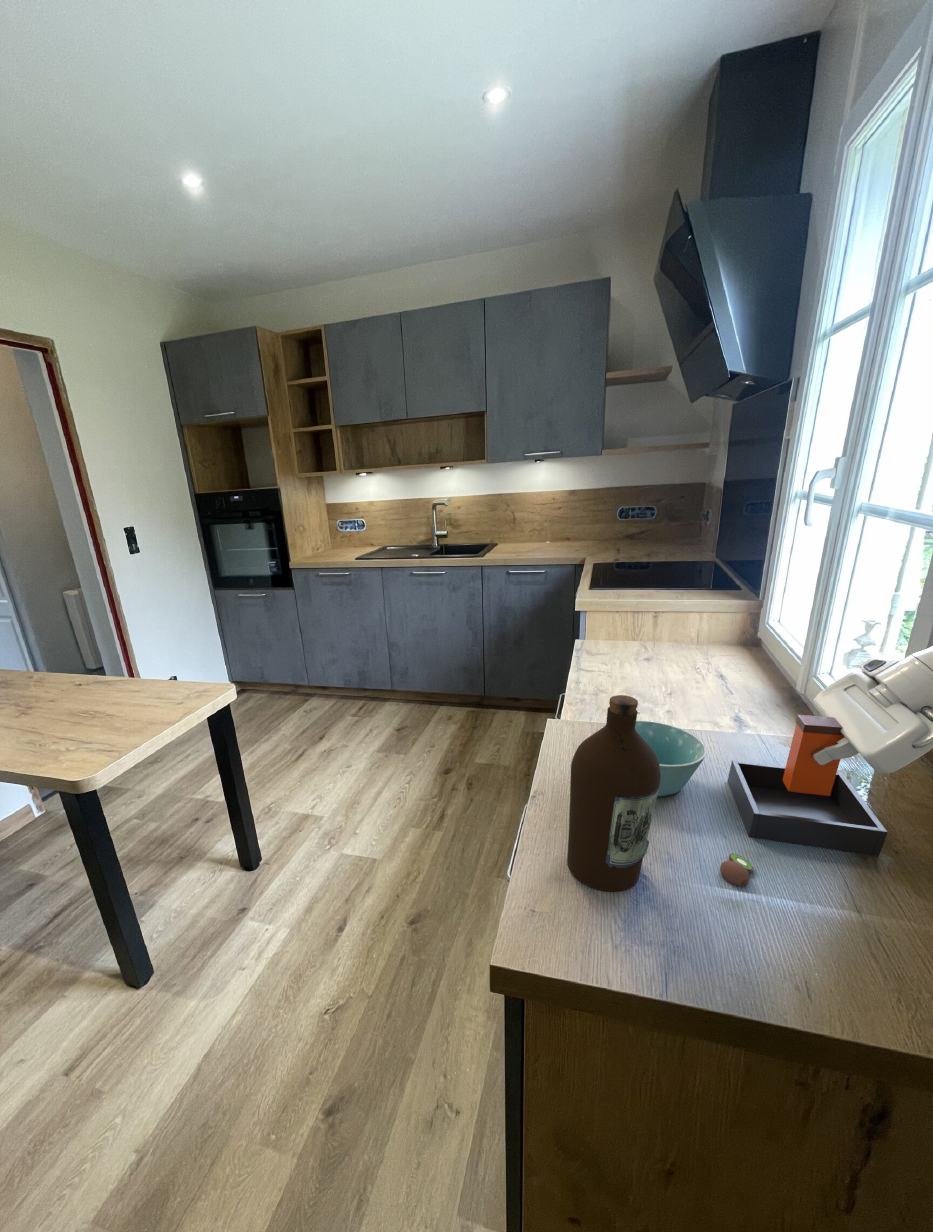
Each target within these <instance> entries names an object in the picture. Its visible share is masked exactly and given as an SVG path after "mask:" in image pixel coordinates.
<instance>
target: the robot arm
mask: <svg viewBox="0 0 933 1232" xmlns="http://www.w3.org/2000/svg"><path fill="white" fill-rule="evenodd" d="M859 668H860V670H856V671H855V670H854V671H853V672H850V673H848V674H846V675H844V676H843V677H841V678H839V679H837V680H836V681H835V682H833V683H831V684H830V685H828V686H827V687H825V688H823V689H822V690H821V691H819V692H818V693H817V695H816V696H815V697H814V699H813V702H814V704H815V705H816V706H817V707H818V708H819V709H820V710H821V712H822V713H823V714H824V716H825V717H833V718H835V719H836V720H837V721H838V722H839V724H840V725H841V726H842V727H843V728H842V729H841V730H840V732H841V733H842V734H843V735H844V736H845V738H843V739H841V740H839V741H837V743H838V744H837V745H833V746H830V747H826V748H823V747H822V746H821V747H819V748H817V749H816V750H814V751H812V752H811V755H812V756H813V758H814V759H815V760H816V761H817V762H818V764H820V765H825V764H827V763H828V762H830V761H832V760H837V759H840V760H842V759H849V758H850V759H851V758H852V757H854V756H856V755H858V754H859V755H860V756H861V757H862V758H863V759H864V760H865V761H866V763H867V764H868V765H869V766H870V768H872V769H873V770H874V771H875V772H876V773H877V774H878V775H886V774H887V775H888V774H892V773H896V772H897V771H899V770H901V769H902V768H904V767H906V766H908V765H909V764H911V763H912V762H914V761H917V760H918V759H919V758H921V757H922V756H924V755H926V754H927V753H928V752H930V751H931V750H933V645H931V646H930V647H928V648H926V649H923V650H919V651H915V652H914V653H912V654H909V655H908V656H906V657H905V658H903V659H901V660H900V659H883V658H878V657H877V658H876V657H872V658H869V659H867V660H866V661H864V662H862V663H861V664H860V665H859Z"/></svg>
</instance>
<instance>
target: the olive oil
mask: <svg viewBox="0 0 933 1232" xmlns="http://www.w3.org/2000/svg"><path fill="white" fill-rule="evenodd" d="M608 701H609V704H608V705H609V706H608V707H607V712H606V721H605V722H606V723H605V725H604V726H603V727H602V728H600V729H598V730H597V731H595V732H594V733H593V734H591V735H590V736H588V737H586V738H585V739H584V740H582V742H581V743H580V744H579V745H578V746H577V748H576V749H575V752H574V755H573V757H572V760H571V764H570V787H569V788H570V790H569V819H568V841H567V853H566V855H567V857H566V862H567V867H568V870H569V871H570V873H571V874H572V875H573V876H574V877H575V879H576V880H578V881H579V882H581V883H582V884H584V885H586V886H588V887H589V888H592V889H595V890H599V891H603V892H623V891H626V890H628V889H631V888H632V887H634V886H635V885H636V884H637V883H638V881H639V878H640V876H641V870H642V864H643V861H644V857H645V856H646V854H647V852H648V848H649V845H650V842H649V840H648V837H649V833H650V829H651V824H652V819H653V815H654V812H655V808H656V802H657V799H658V796H657V795H658V791H659V787H660V781H661V771H660V765H659V761H658V758H657V756H656V754H655V752H654V751H653V749H652V748H651V747H650V746H649V745H648V743H647V742H646V741H645V740H644V739H643V738H642V737H641V736H640V735H639V733H638V732H637V731H636V730H635V725H636V721H637V718H638V710H637V708H638V707H639V706H638V705H639V702H638V700H637V699H636V698H635V697H633V696H630V695H624V694H618V695H617V694H616V695H612V696H611V697H610V698H609V700H608Z"/></svg>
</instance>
